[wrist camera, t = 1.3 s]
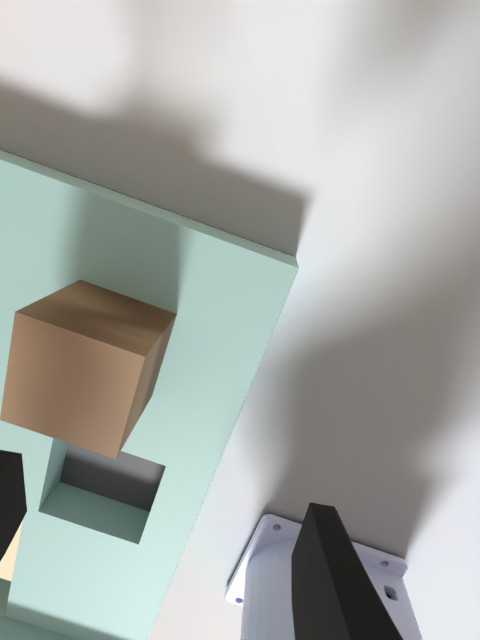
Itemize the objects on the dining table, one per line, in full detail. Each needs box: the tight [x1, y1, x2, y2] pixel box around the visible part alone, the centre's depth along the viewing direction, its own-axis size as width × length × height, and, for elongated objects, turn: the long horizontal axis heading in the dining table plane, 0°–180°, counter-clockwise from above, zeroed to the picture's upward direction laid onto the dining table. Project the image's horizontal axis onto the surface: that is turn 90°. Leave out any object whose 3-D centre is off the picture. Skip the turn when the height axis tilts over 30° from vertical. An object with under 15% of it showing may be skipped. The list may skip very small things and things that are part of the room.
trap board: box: [0, 150, 299, 640], centre depth 21 cm, size 16×29×4 cm, turn 161°
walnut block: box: [0, 280, 177, 459], centre depth 16 cm, size 4×4×4 cm
